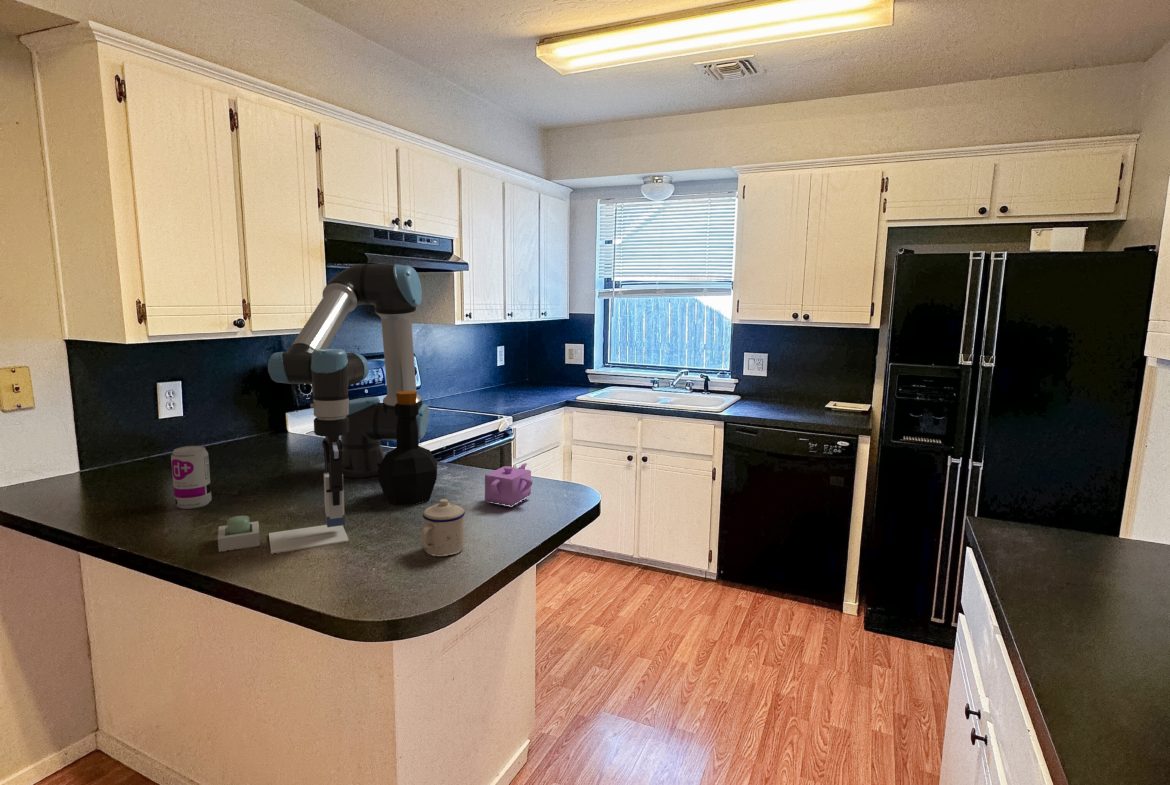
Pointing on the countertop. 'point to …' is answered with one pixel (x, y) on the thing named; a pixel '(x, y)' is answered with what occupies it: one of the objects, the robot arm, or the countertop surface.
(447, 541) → the teacup with lid
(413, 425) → the bottle
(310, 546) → the slotted base plate
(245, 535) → the housing
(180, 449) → the supplement can
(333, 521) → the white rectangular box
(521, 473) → the teapot
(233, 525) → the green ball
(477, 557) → the countertop surface
